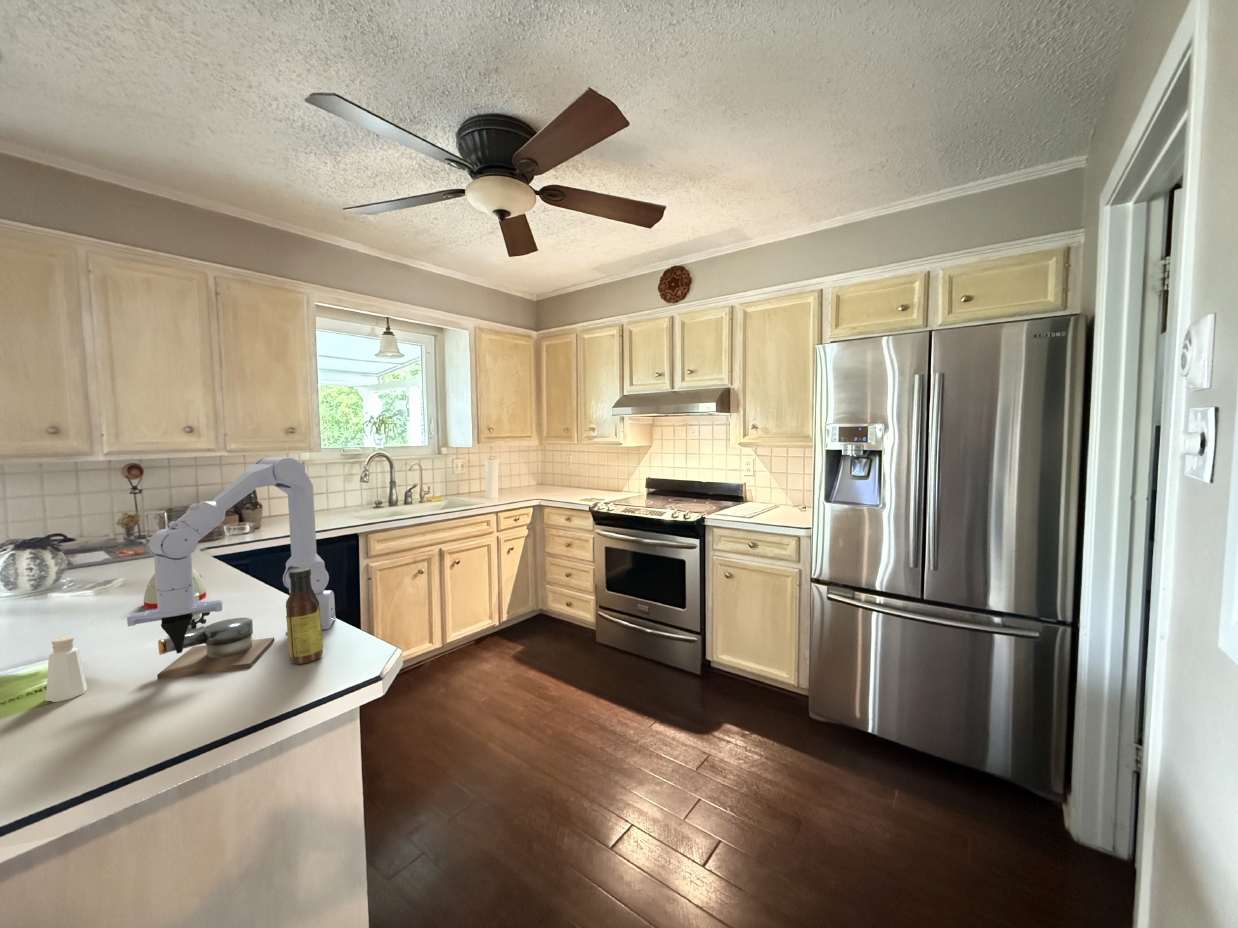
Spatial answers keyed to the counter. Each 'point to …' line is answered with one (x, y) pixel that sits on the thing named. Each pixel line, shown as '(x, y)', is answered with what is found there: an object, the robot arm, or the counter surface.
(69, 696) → the pepper shaker
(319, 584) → the robot arm
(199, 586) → the white and red dome
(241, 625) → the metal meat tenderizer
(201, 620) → the valve
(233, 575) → the counter surface
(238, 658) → the thin wooden panel
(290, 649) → the sauce bottle
